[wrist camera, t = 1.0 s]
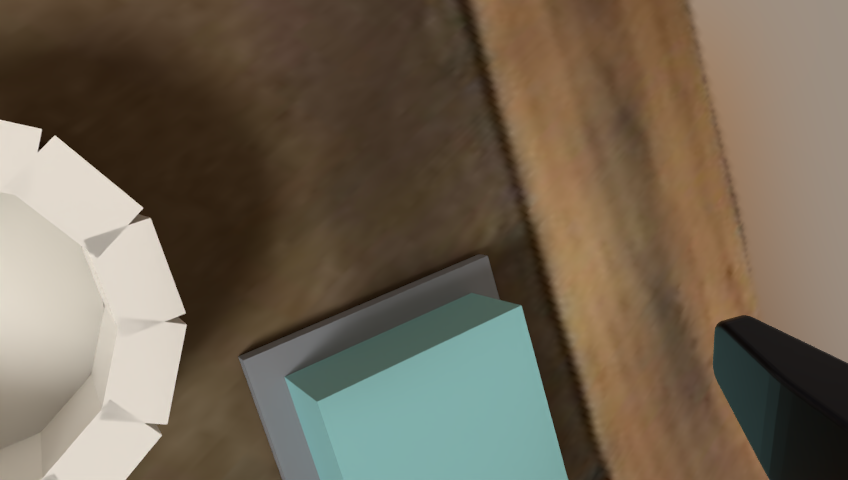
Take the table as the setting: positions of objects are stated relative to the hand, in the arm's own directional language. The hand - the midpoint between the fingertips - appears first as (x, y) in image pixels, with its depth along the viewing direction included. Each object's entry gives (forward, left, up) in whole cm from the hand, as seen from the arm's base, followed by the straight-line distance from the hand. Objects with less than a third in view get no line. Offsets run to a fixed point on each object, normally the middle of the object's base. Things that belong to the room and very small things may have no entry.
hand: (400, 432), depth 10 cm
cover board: (-8, -5, -13) cm, 17 cm away
